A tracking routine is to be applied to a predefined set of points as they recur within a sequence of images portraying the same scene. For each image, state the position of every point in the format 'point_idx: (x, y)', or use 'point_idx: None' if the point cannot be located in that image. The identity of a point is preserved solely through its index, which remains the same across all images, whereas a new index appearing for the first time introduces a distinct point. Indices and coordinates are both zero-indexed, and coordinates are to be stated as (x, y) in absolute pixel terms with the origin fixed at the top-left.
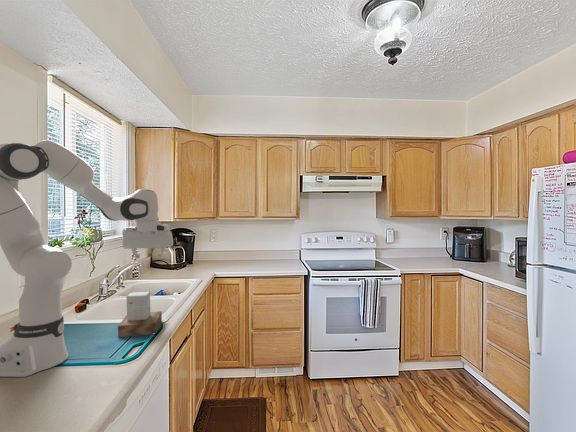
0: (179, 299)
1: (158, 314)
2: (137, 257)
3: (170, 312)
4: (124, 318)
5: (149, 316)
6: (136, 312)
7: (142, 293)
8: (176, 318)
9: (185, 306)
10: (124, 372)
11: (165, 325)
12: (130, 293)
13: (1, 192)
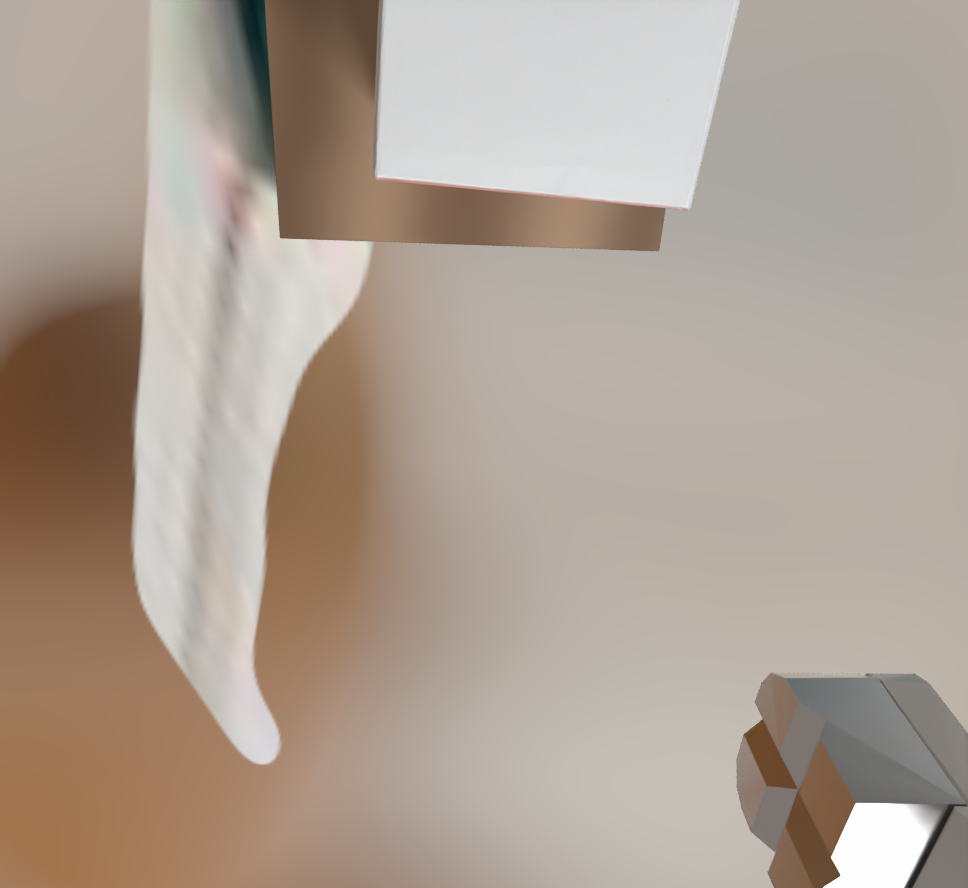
0: (251, 749)
1: (290, 122)
2: (846, 698)
3: (258, 440)
4: None
5: None
6: None
7: (483, 69)
8: (148, 249)
9: (143, 571)
10: None
11: (220, 51)
12: (693, 135)
13: None
